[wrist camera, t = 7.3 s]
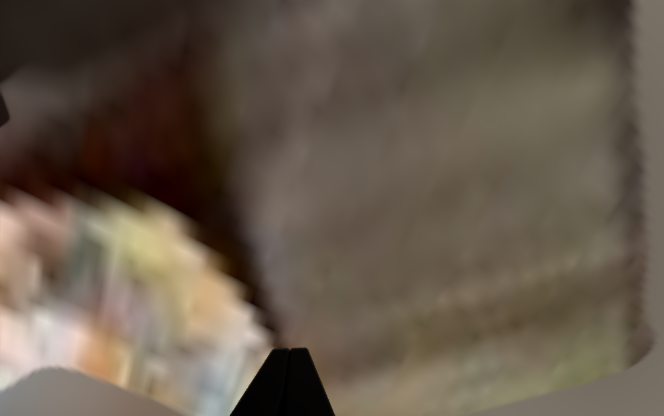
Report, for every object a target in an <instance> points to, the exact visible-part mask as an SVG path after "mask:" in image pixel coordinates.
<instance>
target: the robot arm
mask: <svg viewBox="0 0 664 416" xmlns="http://www.w3.org/2000/svg"><path fill="white" fill-rule="evenodd" d="M230 416H335V414H334V412H333V409H332V407H331V404H330V402H329V399H328V397H327V394H326V392H325V390H324V387H323V385H322V382H321V380H320V377H319V375H318V373H317V370H316V368H315V365H314V363H313V360H312V358H311V355H310V353H309V351H308V349H307V348H305V347H304V348H292V349H291V350H290V349H288V348H275V349H273V350H272V351H271V352H270V354H269V355H268V357H267V359H266V360H265V362H264V363H263V365H262V366H261V368H260V369H259V371H258V372H257V374H256V376H255V377H254V379H253V380H252V382H251V383H250V385H249V386H248V388H247V389H246V391H245V393H244V394H243V396H242V397H241V399H240V400H239V402H238V403H237V405H236V406H235V408H234V410H233V411H232V413H231V414H230Z"/></svg>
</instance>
